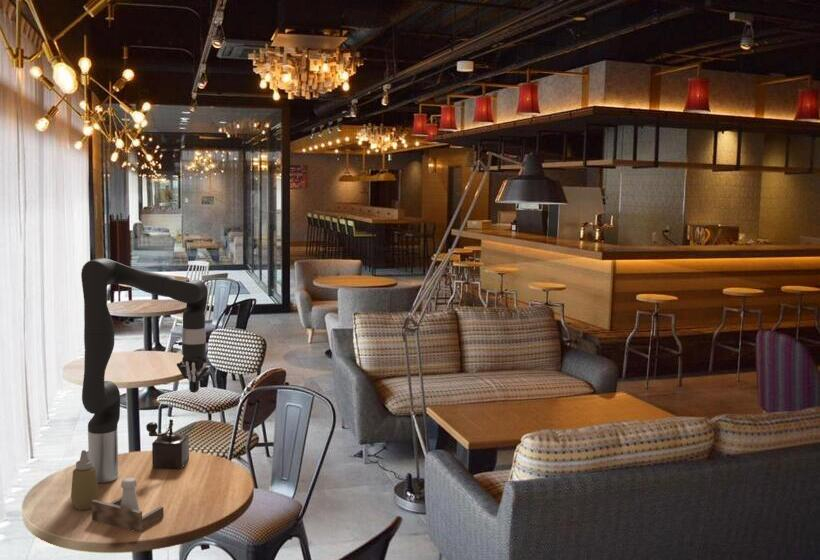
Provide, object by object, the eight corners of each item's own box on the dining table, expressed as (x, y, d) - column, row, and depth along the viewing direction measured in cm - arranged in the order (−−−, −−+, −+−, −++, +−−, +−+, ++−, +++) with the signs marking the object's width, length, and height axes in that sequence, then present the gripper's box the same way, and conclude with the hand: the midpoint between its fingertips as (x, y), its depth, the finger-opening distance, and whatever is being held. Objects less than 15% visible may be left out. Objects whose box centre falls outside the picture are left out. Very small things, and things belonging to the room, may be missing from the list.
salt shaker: (133, 525, 221) (132, 484, 219) (115, 523, 221) (114, 482, 220) (143, 517, 226) (142, 476, 225) (125, 515, 227) (124, 474, 225)
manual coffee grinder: (159, 457, 274) (159, 410, 271) (189, 458, 274) (189, 411, 271) (144, 474, 258) (143, 424, 256) (176, 475, 258) (175, 425, 256)
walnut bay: (92, 520, 223) (91, 501, 222) (119, 505, 234) (119, 487, 233) (139, 532, 217) (139, 513, 216) (165, 516, 227) (165, 498, 226)
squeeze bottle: (81, 514, 227) (79, 457, 224) (65, 507, 231) (63, 451, 229) (104, 505, 234) (103, 450, 231) (88, 498, 238) (87, 444, 235)
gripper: (170, 340, 244) (170, 392, 247) (203, 345, 239) (203, 397, 242) (185, 336, 251) (185, 386, 254) (217, 341, 246) (217, 391, 249)
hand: (194, 391), depth 248 cm, fingers closed
